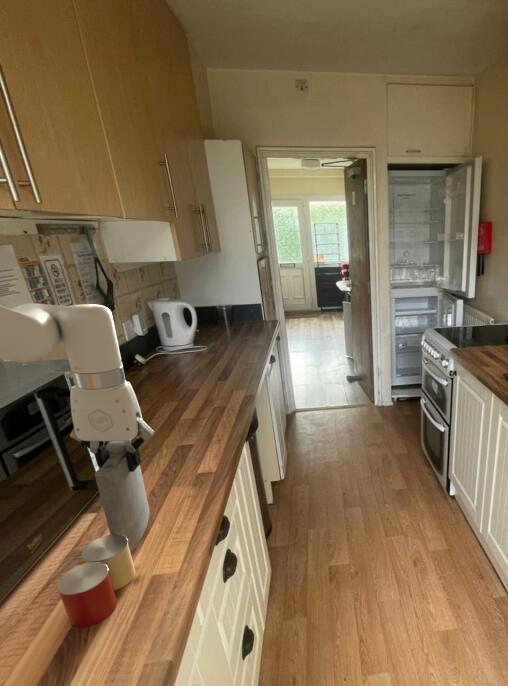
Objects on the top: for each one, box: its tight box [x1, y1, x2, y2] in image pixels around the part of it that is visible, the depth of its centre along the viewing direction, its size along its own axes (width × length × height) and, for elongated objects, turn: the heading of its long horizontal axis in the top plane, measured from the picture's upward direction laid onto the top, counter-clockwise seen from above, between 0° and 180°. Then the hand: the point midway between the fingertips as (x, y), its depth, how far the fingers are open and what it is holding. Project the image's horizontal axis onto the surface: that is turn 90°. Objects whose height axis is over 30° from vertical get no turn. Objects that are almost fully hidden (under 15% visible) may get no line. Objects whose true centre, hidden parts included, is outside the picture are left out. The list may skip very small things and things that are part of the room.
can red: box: [56, 562, 118, 628], centre depth 68 cm, size 7×7×7 cm
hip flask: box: [94, 441, 150, 554], centre depth 84 cm, size 16×4×20 cm, turn 15°
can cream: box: [81, 534, 136, 592], centre depth 75 cm, size 7×7×7 cm
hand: (120, 467), depth 82 cm, fingers closed on hip flask, 4 cm apart
